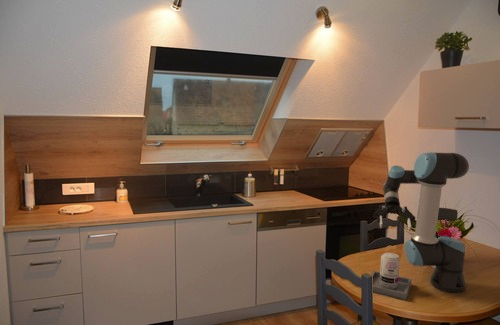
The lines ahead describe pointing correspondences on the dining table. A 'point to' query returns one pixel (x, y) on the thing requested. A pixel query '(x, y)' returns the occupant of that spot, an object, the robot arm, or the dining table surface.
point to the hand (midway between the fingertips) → (395, 227)
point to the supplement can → (389, 270)
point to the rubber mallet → (447, 214)
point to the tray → (398, 292)
